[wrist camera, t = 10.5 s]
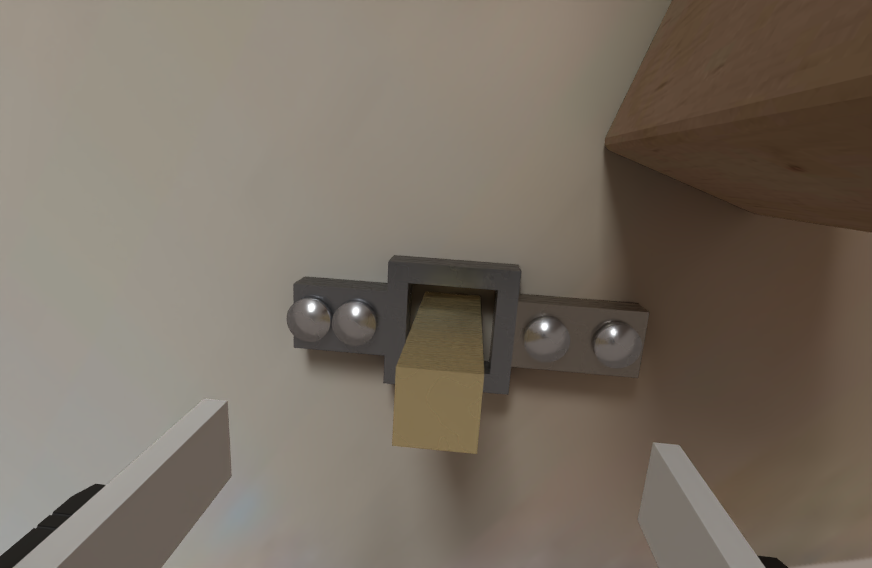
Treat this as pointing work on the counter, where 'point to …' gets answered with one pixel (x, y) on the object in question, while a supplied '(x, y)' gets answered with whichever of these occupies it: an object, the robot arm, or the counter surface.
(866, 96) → the wooden block
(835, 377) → the counter surface
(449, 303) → the pin
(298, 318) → the ball-studded metal bracket
